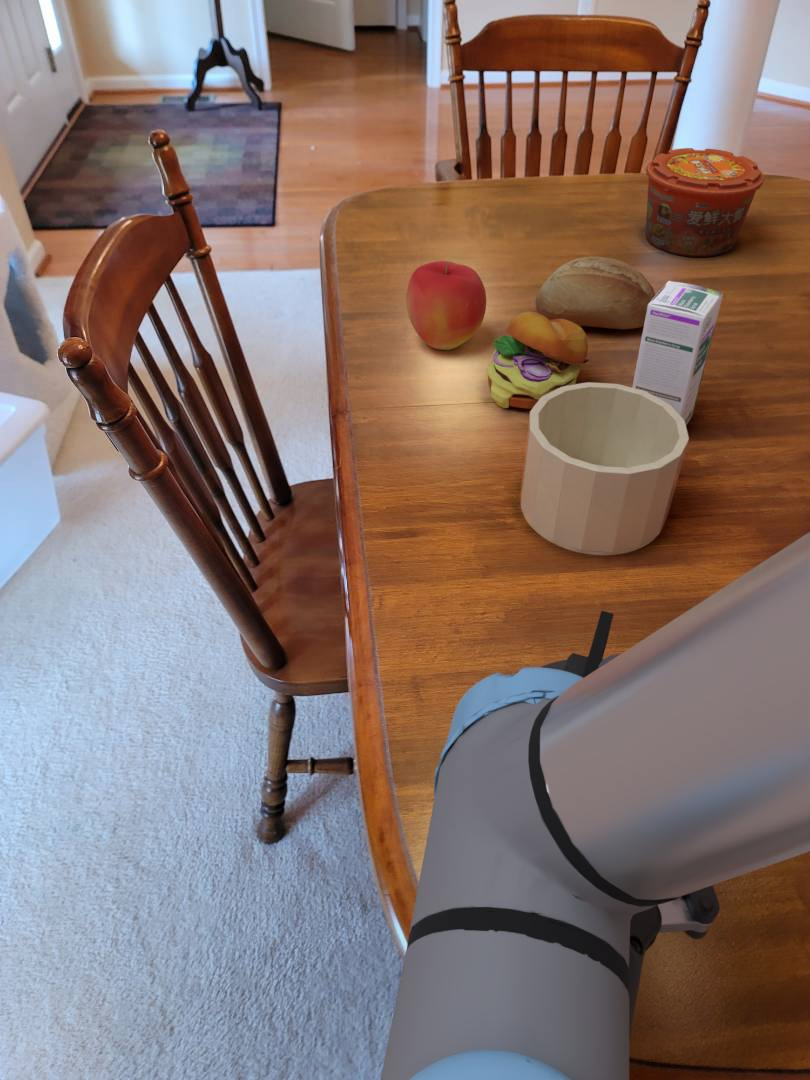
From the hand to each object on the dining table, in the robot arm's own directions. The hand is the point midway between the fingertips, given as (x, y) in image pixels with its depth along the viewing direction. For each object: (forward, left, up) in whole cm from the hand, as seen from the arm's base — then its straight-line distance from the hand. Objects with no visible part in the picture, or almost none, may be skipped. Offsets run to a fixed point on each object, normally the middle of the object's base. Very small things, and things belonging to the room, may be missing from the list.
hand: (633, 635), depth 52 cm
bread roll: (+42, -46, -12) cm, 64 cm away
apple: (+50, -28, -12) cm, 59 cm away
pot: (+18, -19, -12) cm, 29 cm away
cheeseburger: (+36, -29, -12) cm, 48 cm away
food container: (+50, -76, -12) cm, 92 cm away
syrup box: (+23, -35, -12) cm, 44 cm away
